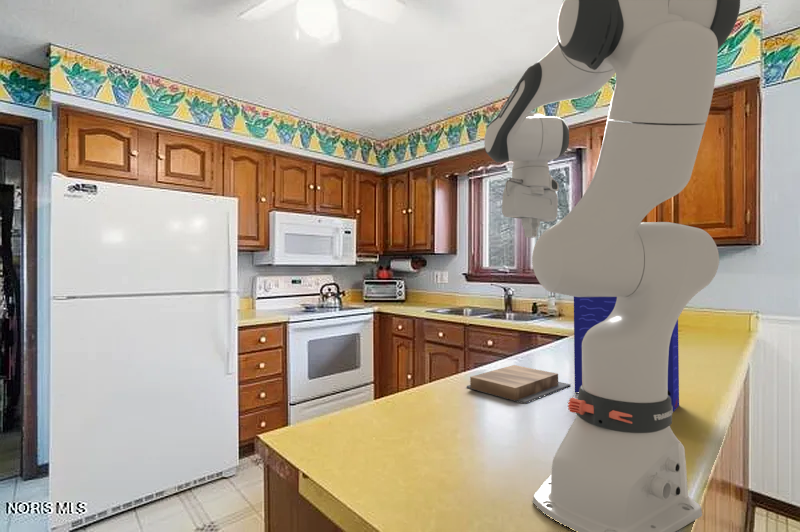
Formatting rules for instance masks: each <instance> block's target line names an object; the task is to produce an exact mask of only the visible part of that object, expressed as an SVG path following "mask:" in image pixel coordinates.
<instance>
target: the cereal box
mask: <svg viewBox="0 0 800 532" xmlns="http://www.w3.org/2000/svg"><path fill="white" fill-rule="evenodd" d="M616 300H617V297H575V296H573V342H574V343H573V350H574V352H573V353H574V354H573V357H574V360H573V361H574V393H575V392H579V389H580V386H581V385H582V341H583V338H584V336H585V334H586V333H587V331H588V330H589V329H590V328H592V327H593V326H595V325H596V324H598V323H600V322H602V321H604V320H605V319H606V318H607V317H608V316H609V315H610V314H611V312H612V311H613V309H614V307H615V304H616ZM679 357H680V356H679V319H678V320H677V322H676V324H675V327H674V329H673V332H672V335H671V339H670V345H669V356H668V395H669V396H670V398H671V405H672V408H673V413H674V412H675V411H676V410H677V409H678V407H679V406H680V369H679V367H680V366H679V364H680V363H679V361H680V360H679Z"/></svg>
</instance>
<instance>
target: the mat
mask: <svg viewBox="0 0 800 532" xmlns="http://www.w3.org/2000/svg"><path fill="white" fill-rule="evenodd" d="M568 386H570V387H571V384H570V383H566V382H561V381H558V385H556V386H554V387H551V388H548V389H546V390H543V391H540V392H537V393H535V394H532V395H529V396H527V397H524V398H521V399H518V400H514V402H517V401H518V403H520V402H522V403H521V404H524V403H526V404H528V403H530V402H529V401H531V402H533V401H532V400H534V399H536V400H538V399H537V398H539V397H541V398H543V397H542V396H544V395H546V396H548V395H547V394H549V393H552V392H554V393H556V392H555V391H557V392H559V391H561V390H560V389H562V390H564V389H563V388H565V387H567V388H569V387H568ZM466 389H470V390H474V391H478V392H481V393H485V394H488V395H491V394H490V393H486V392H483V391H479V390H475V389H472V388H470V384H469V385H466ZM565 389H566V388H565ZM558 390H559V391H558ZM552 394H553V393H552ZM492 395H493V396H496V397H499V398H503V399H506V400H509V401H513V400H512V399H508V398H505V397H501V396H497V395H494V394H492ZM549 395H550V394H549ZM544 397H545V396H544ZM539 399H540V398H539ZM534 401H535V400H534ZM527 402H528V403H527Z"/></svg>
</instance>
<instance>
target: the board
mask: <svg viewBox="0 0 800 532" xmlns="http://www.w3.org/2000/svg"><path fill="white" fill-rule="evenodd" d="M558 382H559V373H557V372H552V371H546V370H541V369H536V368H531V367H525V366H522V365H521V366H520V365H515V364H512V365H508V366H505V367H501V368H498V369H494V370H490V371H487V372H483V373H480V374H476V375H472V376H470V381H469V383H470V384H469V385H470V388H472V389H471V390H473V389H475V390H474V391H477V390H479V391H478V392H480V391H483V392H482V393H484V392H486V393H485V394H488V393H490V394H489V395H491V394H494V395H493V396H495V395H497V396H496V397H499V396H501V397H500V398H502V397H505V398H504V399H506V398H508V399H507V400H509V399H512V400H511V401H513V400H518V399H521V398H524V397H527V396H529V395H532V394H535V393H537V392H540V391H543V390H546V389H548V388H551V387H554V386H556V385H558Z"/></svg>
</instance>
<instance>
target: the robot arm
mask: <svg viewBox="0 0 800 532" xmlns="http://www.w3.org/2000/svg"><path fill="white" fill-rule="evenodd" d="M740 9H741V0H562V3H561V6H560V9H559V11H558V16H557V25H556V26H557V29H556V31H557V32H556V34H557V35H556V36H557V38H556V39H557V43H556V44H555V45H554V47H553V48H552V49H551V50H550V51H549V52H548V53H547V54H546V55H545V56H543V57H542V58H541V59H540V60H538V61H537V62H535V63H534V64H532V65H530V66H529V67H528V68H526V69H525V71H524V73H523V74H522V75H521V77H520V78H519V80H518V81H517V83H516V84H515V86H514V88H513V90H512V91H511V93H510V94H509V96H508V97H507V99H506V101H505V102H504V103H503V106H502V107H501V109H500V111H499V113H498V114H497V115H496V116H495V117H494V118H493V119H492V120H491V121H490V123H488V126H487V128H486V131H485V134H484V142H483V143H484V151H485V153H486V154H487V155H488V157H489V158H490V159H492V160H493V161H494V162H495V163H507V162H513V163H512V164H513V165H512V169H511V177H509V178H508V179H507V181H506V182H505V187H504V189H503V193H502V201H501V202H502V203H501V212H502V216H503V217H506V218H513V219H519V220H521V226H522V228H523V230H524V238H530V239H533V238H534V239H536V238H538V239H537V241H536V243H535V245H534V247H533V250H532V256H531V264H532V269H533V273H534V275H535V278H536V279H537V282H538V283H539V284H540V285H541V286H542V287H543V288H544V289H545V290H546V291H547V292H551V293H555V294H559V295H563V296H569V297H574V296H575V297H617V300H616V304H615V307H614V309H613V311H612V312H611V314H610V315H609V316H608V317H607V318H606V319H605V320H604V321H602V322H600V323H598V324H596V325H595V326H593V327H592V328H590V329H589V330H588V331H587V333H586V334H585V336H584V338H583V341H582V385H581V386H580V389H579V393H577V396H576V397H570V398H569V401H568V402H567V403H568V405H567V407H568V408H567V409H568V410H569V411H568V412H571V413H575V414H576V415H575V416H576V417H575V418H574V420H573V422H572V424H571V425H570V426H569V429H568V430H567V432H566V434H565V436H564V437H563V440H562V441H561V443H560V445H559V447H558V448H557V451H556V452H555V454H554V456H553V459H552V464H551V471H550V472H551V473H550V474H549V476H548V477H547V478H546V479H545V480H544V481H543V483H542V484H541V485H540V486H539V487H538V488H537V490H536V491H535V492H534V494H533V495H532V504H533V503H534V504H535V505H536V506H537V507H538V508H539V509H540V510H541V511H542V512H544V513H545V514H547V515H549V516H550V517H552V518H553V519H555V520H557V521H559V522H560V523H562V524H563V525H566V526H568V527H570V528H572V529H574V530H575V531H578V532H677V531H679V530H680V529H682V528H684V527H685V526H688V525H689V524H691V523H692V522H694V521H696V520H698V519H699V518H701V517H702V516H703V512H702V506H701V504H700V503H698V502H697V501H695V500H694V499H693V498H691V497H690V496H689V489H688V487H689V486H688V475H687V474H688V473H687V462H686V449H685V447H684V445H683V443H682V442H681V441H680V440H679V439H678V437H677V436H676V435H675V433H674V432H673V430H672V427H671V425H672V423H673V413H674V412H673V408H672V405H671V398H670V396H669V395H668V356H669V345H670V339H671V335H672V332H673V329H674V327H675V324H676V322H677V320H678V321H679V317H680V316H681V315H682V312H683V311H684V309H685V308H686V307H687V305H688V303H689V302H690V301H691V300H692V299H693V298H694V297H695V296H696V295H697V294H698V293H699V292H701V291H702V290H704V289H705V288H706V287H708V286H709V285H710V284H711V283H712V281H713V280H714V278H715V276H716V275H717V272H718V269H719V266H720V254H719V250H718V246H717V244H716V241H715V240H714V239H713V237H712V236H711V235H710V234H709V233H708V232H707V231H706V230H704V229H702V228H699V227H695V226H689V225H687V224H686V225H685V224H681V223H675V222H669V221H657V222H656V221H651V222H650V221H649V222H648V221H647V222H646V221H643V220H644V219H645V217H646V216H647V215H648V214H650V212H651V211H653V209H655V208H656V207H657V206H659V205H660V204H661V203H664V202H666V201H667V200H669V199H671V198H673V197H675V196H677V195H678V194H680V193H681V192H682V191H683V190H684V189H685V188H686V187H687V185H688V183H689V182H690V180H691V178H692V174H693V171H694V166H695V163H696V160H697V156H698V151H699V150H700V149H699V148H700V146H701V142H702V138H703V135H704V131H705V128H706V124H707V122H708V116H709V113H710V110H711V109H710V108H711V105H712V100H713V94H714V89H715V82H716V77H717V68H718V55H719V53H718V51H719V49H720V48H721V47H722V46H723V44H724V43H725V42H726V40H727V39H728V38H729V36H730V34H731V33H732V32H733V30H734V28H735V26H736V24H737V21H738V19H739V15H740ZM614 75H615V77H616V78H615V85H614V90H613V93H612V97H611V100H610V105H609V110H608V114H607V120H606V125H605V128H604V135H603V140H602V143H601V144H602V145H601V146H600V147H601V148H600V151H599V156H598V159H597V164H596V167H595V171H594V175H592V179H591V180H590V183H589V185H588V187H587V189H586V190H585V192H584V194H583V195H582V197H581V198H580V200H579V201H578V202H577V203H576V204H575V206H574V207H573V208H572V209H571V211H569V213H567V214H566V215H565V216H564V217H563V218H562V219H560V220H559V221H558V222H556V223H555V224H554V225H552V226H550V227H548V228H547V229H546V230H544V231H543V232H542V233H541V234H540V236H539V237H538V230H539V227H540V225H541V222H543V223H544V222H545V223H547V222H554V221H556V220H557V217H558V212H559V211H558V210H559V209H558V207H559V205H558V204H559V203H558V202H559V199H558V194H557V192H558V191H559V188H560V187H559V183H558V182H557V181H556V179H554V178H553V176H552V175H551V174H550V167H549V163H548V162H549V161H552V160H556V159H558V158H560V157H561V156H563V155H564V153H566V152H567V150H568V149H569V144H570V129H569V126H568V124H567V123H566V122H565V120H564V119H562V118H561V117H558V116H545V114H542V113H540V112H533V111H534V110H536V109H537V108H540V107H542V106H545V105H548V104H553V103H557V102H564V101H567V100H568V101H570V100H573V99H574V100H575V99H576V100H577V99H580V98H585V97H587V96H590V95H592V94H594V93H596V92H598V91H599V90H600V89H601V88H602V87H603V86H605V85H606V84H608V82H609V81H610V80H611V79H612V78H613V77H614ZM534 504H533V505H534ZM535 505H534V506H535ZM536 506H535V507H536ZM537 507H536V508H537ZM538 508H537V509H538ZM539 509H538V510H539ZM540 510H539V511H540ZM541 511H540V512H541ZM542 512H541V513H542ZM545 514H544V515H545Z"/></svg>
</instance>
